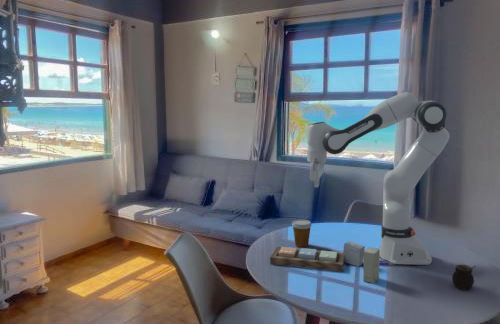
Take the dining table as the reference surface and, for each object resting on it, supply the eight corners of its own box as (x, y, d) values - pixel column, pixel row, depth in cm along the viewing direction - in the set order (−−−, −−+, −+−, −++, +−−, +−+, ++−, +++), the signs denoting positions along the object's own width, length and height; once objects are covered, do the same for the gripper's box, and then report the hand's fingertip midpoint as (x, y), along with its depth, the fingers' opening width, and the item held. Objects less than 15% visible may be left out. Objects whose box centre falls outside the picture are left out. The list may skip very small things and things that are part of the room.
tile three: (296, 254, 176) (296, 247, 176) (293, 260, 169) (293, 253, 169) (281, 253, 178) (281, 246, 178) (278, 258, 172) (278, 251, 171)
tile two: (316, 255, 173) (316, 249, 173) (314, 261, 167) (314, 254, 166) (301, 254, 175) (301, 247, 175) (298, 260, 169) (298, 253, 168)
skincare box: (373, 283, 149) (374, 254, 147) (362, 280, 152) (363, 251, 150) (379, 278, 154) (380, 248, 152) (368, 275, 157) (369, 246, 155)
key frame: (344, 259, 173) (344, 253, 172) (342, 271, 161) (342, 264, 160) (277, 252, 182) (277, 246, 182) (270, 263, 170) (270, 257, 169)
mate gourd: (453, 281, 150) (455, 256, 148) (475, 286, 145) (478, 261, 144) (449, 287, 144) (451, 262, 143) (472, 294, 140) (474, 268, 138)
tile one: (337, 258, 171) (337, 251, 170) (335, 264, 164) (335, 257, 164) (321, 256, 173) (321, 250, 172) (319, 263, 166) (319, 256, 166)
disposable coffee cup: (312, 248, 186) (312, 224, 184) (292, 249, 186) (292, 225, 185) (310, 241, 196) (310, 219, 194) (291, 242, 196) (291, 219, 194)
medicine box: (362, 264, 168) (365, 246, 167) (357, 267, 165) (360, 248, 163) (346, 258, 174) (349, 240, 172) (341, 261, 170) (344, 242, 169)
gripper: (320, 160, 167) (320, 192, 169) (326, 154, 186) (326, 182, 188) (306, 160, 168) (306, 191, 170) (313, 154, 188) (313, 182, 190)
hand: (316, 186), depth 179 cm, fingers closed
